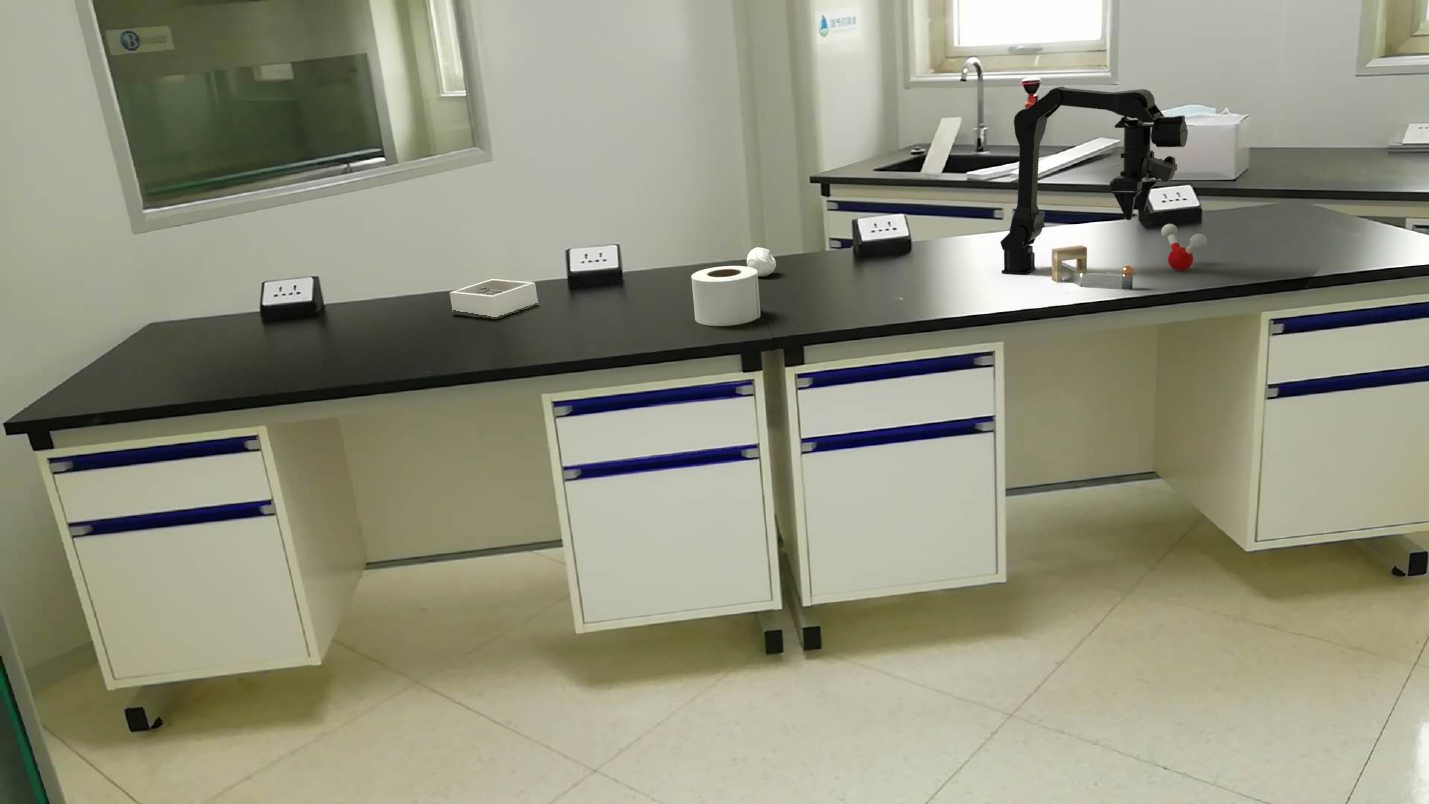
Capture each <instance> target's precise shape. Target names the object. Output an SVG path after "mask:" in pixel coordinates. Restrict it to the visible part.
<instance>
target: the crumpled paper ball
mask: <svg viewBox="0 0 1429 804" xmlns="http://www.w3.org/2000/svg"><path fill="white" fill-rule="evenodd" d="M776 266H777V261H776V259H775V258H774V256H773V255H772V254H771V253H770V250H769V249H767V248H764V247H754V248H753V249H751V250H750V251H749V253H747V257H746V267H751V268H754V269H756V270H757V272H758V277H767V276H769V275H770V274H771V275H772V273H773V272H774V271H775V269H776Z"/></svg>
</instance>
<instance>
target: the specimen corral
mask: <svg viewBox="0 0 1429 804" xmlns="http://www.w3.org/2000/svg"><path fill="white" fill-rule="evenodd" d="M481 287H487V288H489V289H498V290H501V291H504V292H502V293H499V294H496V295H483V294H478V293H479V291H480V289H481ZM449 296H450V297H449V298H450V303H451V308H452V309H451V310H452V311H453V310H456V311H460V312H468V313H474V314H479V315H487V316H491V317H498V316H500V315H504V314H507V313H509V312H513V311H515V310H517V309H521V308H524V307H526V306H530V305H533V304H535V303H538V304H539V300H538V293H537V288H536V282H531V281H521V280H509V279H508V280H507V279H498V278H497V279H496V278H492V279H488V280H485V281H481V282H479V283H475V284H471V285H469V286H465V287H463V288H459V289H455V290H454V291H450V292H449Z"/></svg>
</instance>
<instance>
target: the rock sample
mask: <svg viewBox="0 0 1429 804" xmlns="http://www.w3.org/2000/svg"><path fill="white" fill-rule="evenodd" d="M502 292H504V291H501V290H498V289H489V288H487V287H481V289H480V291H479V293H478V294H483V295H496V294H499V293H502Z"/></svg>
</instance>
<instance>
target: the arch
mask: <svg viewBox="0 0 1429 804" xmlns="http://www.w3.org/2000/svg"><path fill="white" fill-rule="evenodd" d="M1072 260H1076V262H1075V264H1076V267H1075V268H1077V269H1079V270H1082V271H1084V272H1086V273H1088V272H1087V271H1088V270H1087V269H1088V267H1087V266H1088V265H1087V264H1088V247H1087V246H1084V245H1073V246H1066V247H1057V248H1051V280H1052V281H1054V282H1055V283H1061V282H1062V281H1063V278H1062V262H1067V261H1072Z"/></svg>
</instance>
